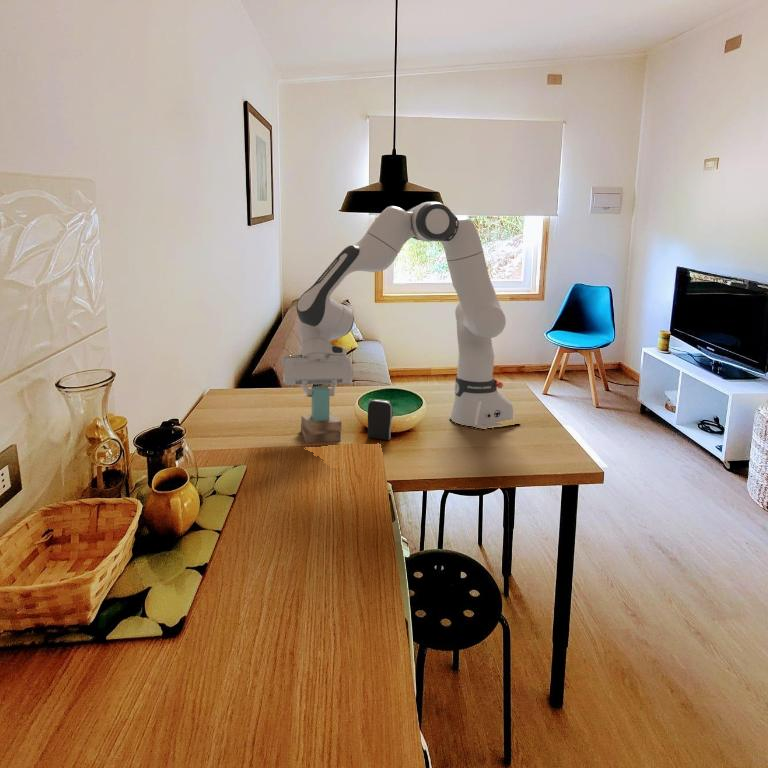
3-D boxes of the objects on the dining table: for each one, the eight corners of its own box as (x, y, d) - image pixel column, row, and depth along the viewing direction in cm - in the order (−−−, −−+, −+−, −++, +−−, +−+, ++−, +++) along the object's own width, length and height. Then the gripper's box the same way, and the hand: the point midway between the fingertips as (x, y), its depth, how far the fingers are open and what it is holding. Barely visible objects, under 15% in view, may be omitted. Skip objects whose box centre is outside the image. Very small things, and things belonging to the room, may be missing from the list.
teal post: (326, 415, 177) (327, 385, 175) (329, 420, 173) (329, 390, 171) (311, 416, 176) (311, 386, 174) (313, 421, 172) (313, 390, 170)
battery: (393, 437, 177) (394, 399, 174) (389, 441, 174) (390, 403, 171) (370, 433, 179) (371, 396, 176) (366, 438, 176) (367, 400, 173)
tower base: (334, 431, 182) (334, 421, 182) (340, 442, 173) (340, 432, 172) (300, 433, 180) (300, 423, 179) (305, 444, 170) (305, 434, 170)
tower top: (330, 421, 181) (330, 412, 181) (341, 431, 174) (341, 421, 173) (301, 425, 178) (301, 415, 177) (311, 434, 170) (311, 424, 169)
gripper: (281, 349, 174) (284, 391, 167) (351, 348, 179) (357, 389, 172) (280, 361, 179) (283, 402, 173) (348, 359, 184) (353, 399, 178)
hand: (320, 395), depth 172 cm, fingers open, 5 cm apart
